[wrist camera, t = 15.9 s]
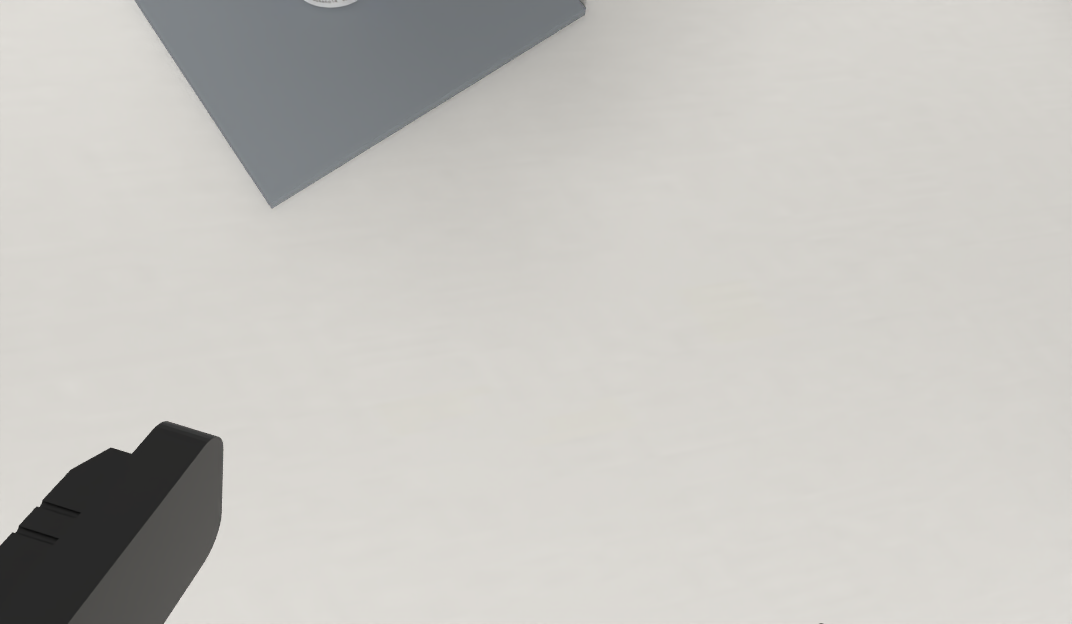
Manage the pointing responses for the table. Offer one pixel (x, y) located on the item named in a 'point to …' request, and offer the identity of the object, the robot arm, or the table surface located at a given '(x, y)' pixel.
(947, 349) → the table surface
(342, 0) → the pill bottle
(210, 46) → the rubber mat
